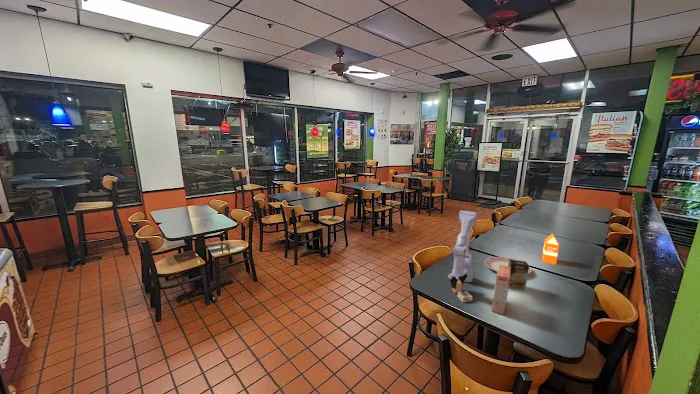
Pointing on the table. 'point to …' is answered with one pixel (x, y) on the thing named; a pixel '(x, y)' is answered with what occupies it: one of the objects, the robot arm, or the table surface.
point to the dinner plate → (498, 263)
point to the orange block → (458, 287)
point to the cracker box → (501, 289)
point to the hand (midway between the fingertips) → (457, 286)
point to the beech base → (465, 296)
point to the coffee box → (518, 274)
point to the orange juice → (550, 250)
